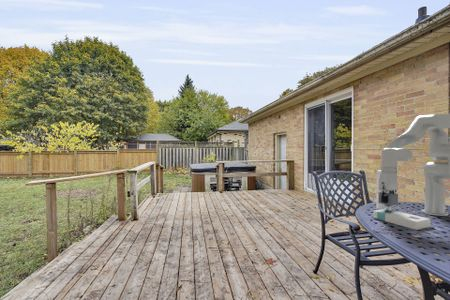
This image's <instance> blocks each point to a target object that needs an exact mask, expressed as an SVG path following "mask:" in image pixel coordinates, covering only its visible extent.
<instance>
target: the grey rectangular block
mask: <svg viewBox="0 0 450 300" xmlns="http://www.w3.org/2000/svg"><path fill="white" fill-rule="evenodd" d="M387 196H388V201H387V203H383V202H381V193H380V192H379V201H378V203H381V204H385V208H384V212H388V213H391V210H392V206H399V194H398V193H396V194H395V193H389V192H388V193H387Z"/></svg>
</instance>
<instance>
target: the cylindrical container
mask: <svg viewBox="0 0 450 300" xmlns="http://www.w3.org/2000/svg"><path fill="white" fill-rule="evenodd" d="M380 173H381V169H380V170H379V169H378V170H376V196H375V197H376V199H375V207H376V208H375V210H382V209H384V208H385V204H381V203H378V201H379V192H380V191H379V177H380ZM384 192H385V191H384ZM388 192H389V191H388Z"/></svg>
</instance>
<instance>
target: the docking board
mask: <svg viewBox="0 0 450 300" xmlns="http://www.w3.org/2000/svg"><path fill="white" fill-rule="evenodd" d="M372 212H373V213H372V215H373V216H372V218H373V219H376V220H380V221H383V222H387V223H391V224H394V225H398V226H400V227H405V228H408V229H413V230H416V231H417V230H421V229H422V230H423V229H426V228H431V218H430V217H429V218H428V217H424V216H419V215H415V214H411V213H407V212H402V211H399V210H393V209H391V213H388V212H384V209H382V210H378V209H375V210H373V211H372Z"/></svg>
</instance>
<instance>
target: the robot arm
mask: <svg viewBox="0 0 450 300" xmlns="http://www.w3.org/2000/svg"><path fill="white" fill-rule="evenodd" d="M445 129H450V113H433V114H431V113H430V114H421V115H418V116H416V117H415V118H414V119H413V121H412V122H411V123H410V125H409V126H408V128H407V129H406V130H405V131H404V133H402V134H400V135H398V136H396V137H395V138H393V139H392V140H391V141H389V142H388V143H387V145H386V146H385V148H382V149H381V156H380V157H381V160H380V161H381V164H380V165H381V167H380V170H381V173H380V177H379V191H380V193H381V202H383V203H387V201H388V196H387V193H388V191H389V193H395V194H397V191H398V189H399V187H398V174H397V173H398V162H409V161H410V160H411V159H412V158H413V152H412V151H411V150H410V149H409V148H405V147H406V146H409V145H412V144H416V143H418V142H419V141H421V140H422V139H423V136H424V135H425V134H426V133H427V132H428V134H429V137H430V138H429V146H428V147H429V148H428V156H429V158H430V159H431V160H438V161H429V162H427V163H425V164H424V165H423V175H424V183H425V184H424V185H425V186H424V208H422V209H420V211H421V212H422V213H423V214H425V215H431V216H436V217H437V216H438V217H448V216H449V212H446V210H448V207H447V206H446V188H447V187H446V186H447V185H446V183H445V181H444V179H445V180H450V143H449V138H450V137H449V134H448V133H447V131H446V130H445ZM445 161H448V162H445ZM384 191H385V192H384Z"/></svg>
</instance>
